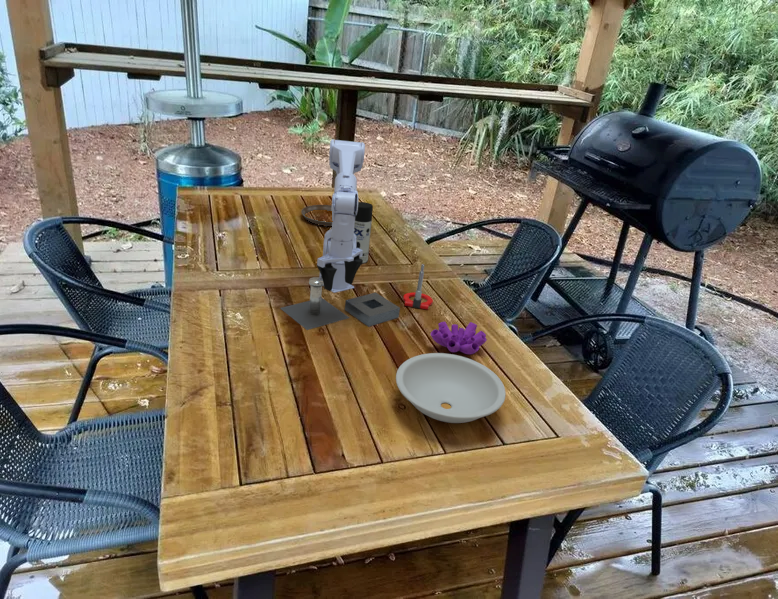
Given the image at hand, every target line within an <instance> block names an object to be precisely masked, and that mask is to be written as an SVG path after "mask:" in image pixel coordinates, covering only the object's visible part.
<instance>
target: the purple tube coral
mask: <svg viewBox="0 0 778 599" xmlns="http://www.w3.org/2000/svg"><path fill="white" fill-rule="evenodd" d="M477 328H478V325H477V324H476V323H473V321H472V322H471V321H470V322H469V323H468V324H467V326H466V327H465V328H464V327H459V325H458V324H456V323H455V324H451V330H450V327H449V326H448V324H447V323H446V321H441V322H439V323H438V329H437V328H435V329H433V330H432V331H431V332H430V336H431V338H432V340H433V341H434V342H436V343H437V344H438V345H440V346H442V347H445V348H447V349H448V351H449V352H451V353H458V352H460V353H463V354H465V355H474V354H475V353H477V352H478V351H479V350H480V347H481V346H482V345H483V344H485V343H486V342H487V341H488V340H487V337H486V336H487V335H486V333H485V332H484V331H483V330H480V331H479V332H477V333H476V330H477Z"/></svg>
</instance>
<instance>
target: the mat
mask: <svg viewBox="0 0 778 599" xmlns="http://www.w3.org/2000/svg"><path fill="white" fill-rule="evenodd" d="M279 309H280V310H281V311H283V312H284V313H285V314H286V315H288V316H289V317H290V318H291V319H292V320H294V321H295V322H296V323H297V324H299V325H300V326H301V327H303V328H304V329H305V330H306V331H308V330H313V329H316V328H320V327H323V326H327V325H329V324H333V323H337V322H340V321H343V320H347V319H348V320H349V319H350V316H348V315H347V314H345V313H344V312H342V311H341V310H340V309H338V308H337V307H335V306H334V305H332V304H331V303H330V302H329V301H327V300H326V299H325V298H324V297H321V308H320V314H319V315H311V314H310V313H309V310H310V300H307V301H303V302H299V303H295V304H291V305H286V306H282V307H280V308H279Z"/></svg>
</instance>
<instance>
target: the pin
mask: <svg viewBox="0 0 778 599" xmlns="http://www.w3.org/2000/svg"><path fill="white" fill-rule="evenodd" d="M308 284H309V285H310V294H309V295H310V297H309V301H310V310H309V313H310V314H311V315H319V314H320V308H321V298H322V292H323V290H322V289H323V287H324V286H323V285H324V283H323V279H322V278H319V276H318V277H317V276H316V277H315V276H314V277H311V278H309V279H308Z"/></svg>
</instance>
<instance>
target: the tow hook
mask: <svg viewBox="0 0 778 599" xmlns="http://www.w3.org/2000/svg"><path fill="white" fill-rule="evenodd" d="M420 266H421V268H420V270H419V273H418V281H417V287H416V290H415V291H413V292H407V293H404V294H403V299H402V300H403V301H404V306H405V307H409V308H412V309H413V308H414V309H419V310H420V309H421V310H429V307H430V306H432V305H433V302H434V299H433V298H432V297H431V296H430V295H428V294H426V293H423V291H422V286H423V281H424V275H425V270H424V269H425V264H424V263H421V265H420ZM410 298H413V300H412V299H410ZM422 299H424V300H426V301H425V302H422Z"/></svg>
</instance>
